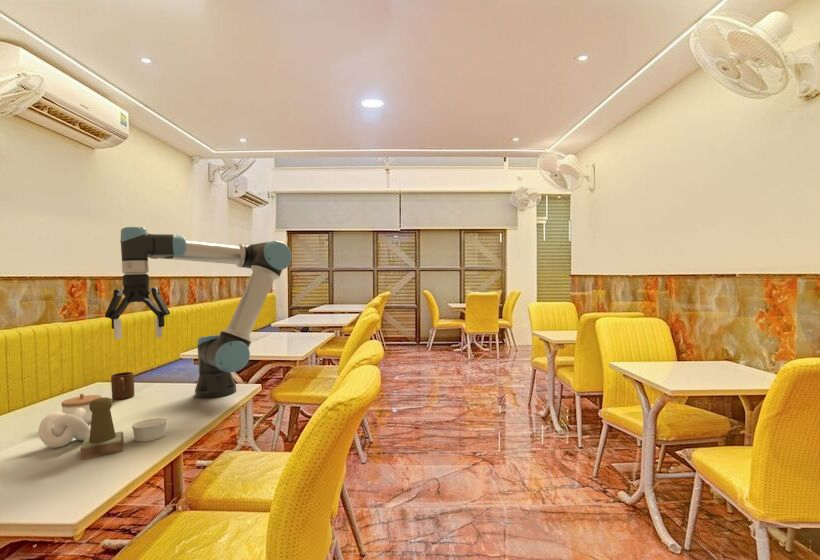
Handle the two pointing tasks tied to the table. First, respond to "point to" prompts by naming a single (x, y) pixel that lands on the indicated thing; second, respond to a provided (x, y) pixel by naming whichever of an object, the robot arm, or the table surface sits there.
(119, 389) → the mug
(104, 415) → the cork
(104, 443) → the stand
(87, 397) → the lidded jar
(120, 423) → the table surface
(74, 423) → the white decorative knot
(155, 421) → the ramekin
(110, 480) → the table surface
